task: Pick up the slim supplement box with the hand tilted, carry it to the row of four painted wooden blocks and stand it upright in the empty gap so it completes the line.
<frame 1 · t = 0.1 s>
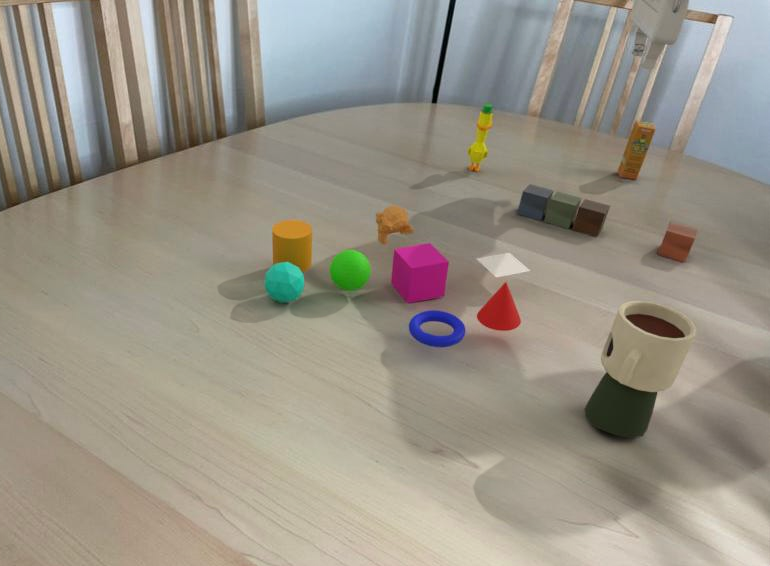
hand: (641, 61, 126), 21 cm above the table, tool pointing down, fingers open, 8 cm apart
block row: (629, 241, 116), on the table
character mug: (612, 424, 78), on the table
toy figure: (474, 169, 137), on the table
supplement box: (626, 177, 141), on the table
shape set: (398, 299, 96), on the table
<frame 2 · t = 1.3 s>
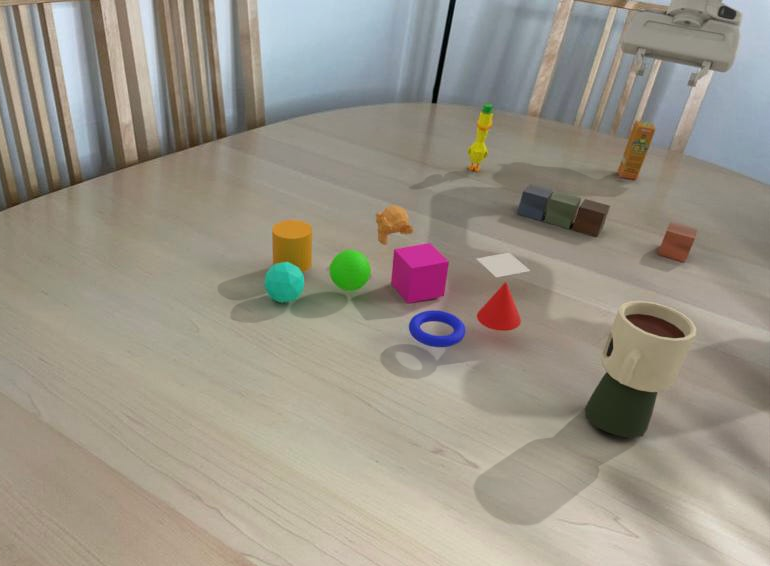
hand: (665, 79, 140), 16 cm above the table, tool tilted 45°, fingers open, 8 cm apart
nothing on the table moved.
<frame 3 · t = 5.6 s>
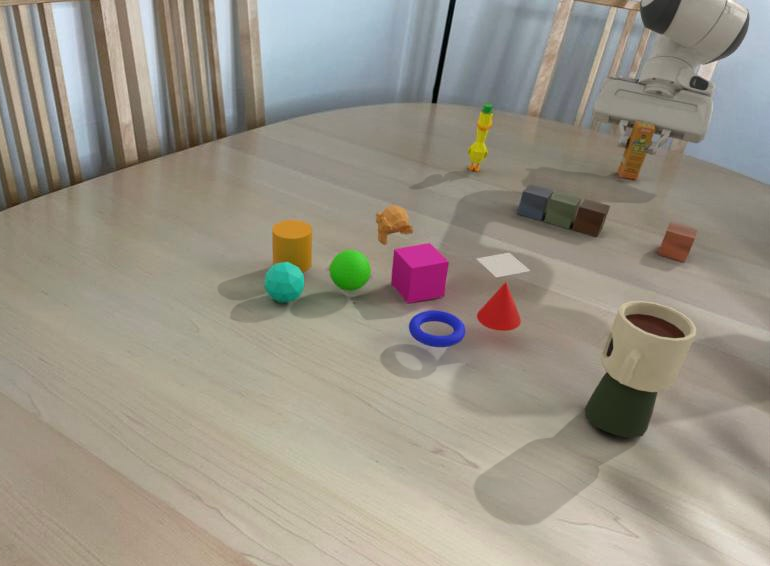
hand: (636, 149, 137), 5 cm above the table, tool tilted 45°, fingers closed on supplement box, 4 cm apart
supplement box: (626, 177, 141), on the table, touching gripper
everything else where it was.
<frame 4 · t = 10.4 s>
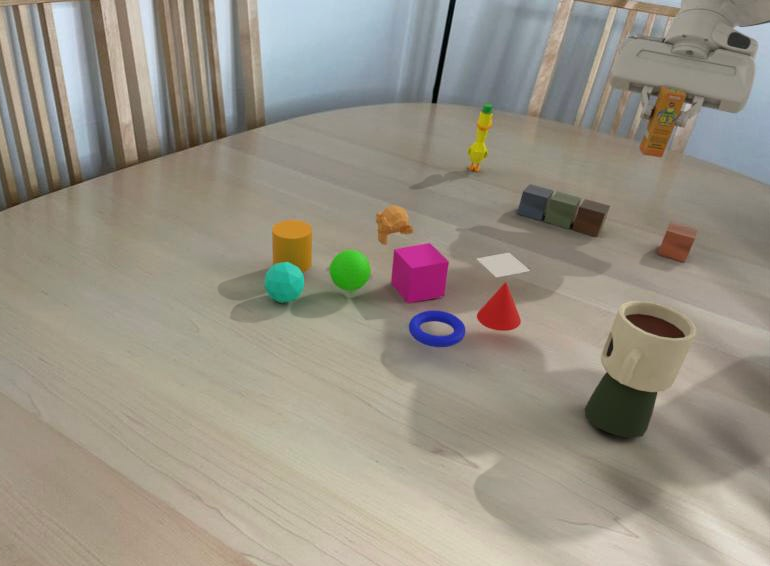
hand: (662, 121, 115), 16 cm above the table, tool tilted 45°, fingers closed on supplement box, 4 cm apart
supplement box: (650, 154, 118), point 11 cm above the table, touching gripper
everything else where it was.
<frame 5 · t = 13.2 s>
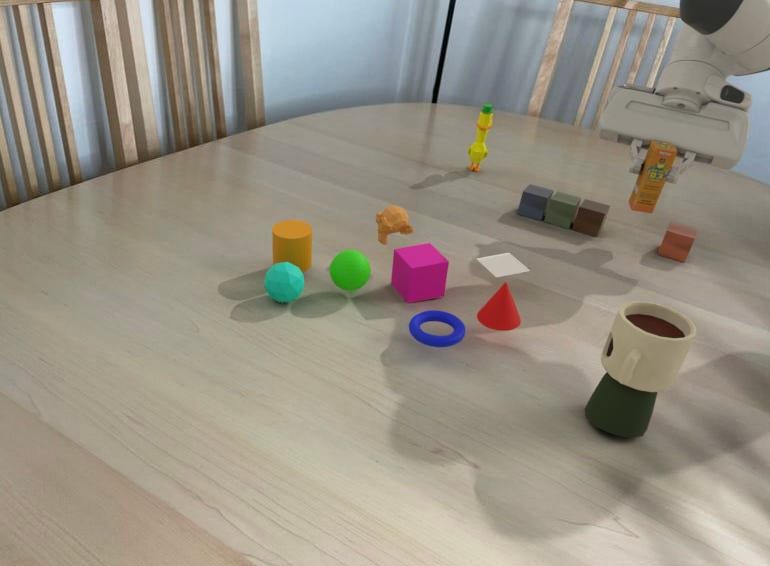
hand: (652, 176, 110), 11 cm above the table, tool tilted 45°, fingers closed on supplement box, 4 cm apart
supplement box: (640, 209, 113), point 5 cm above the table, touching gripper
everything else where it was.
when the fingers open (5 cm above the table, at t = 15.1 s): supplement box stays where it is, on the table.
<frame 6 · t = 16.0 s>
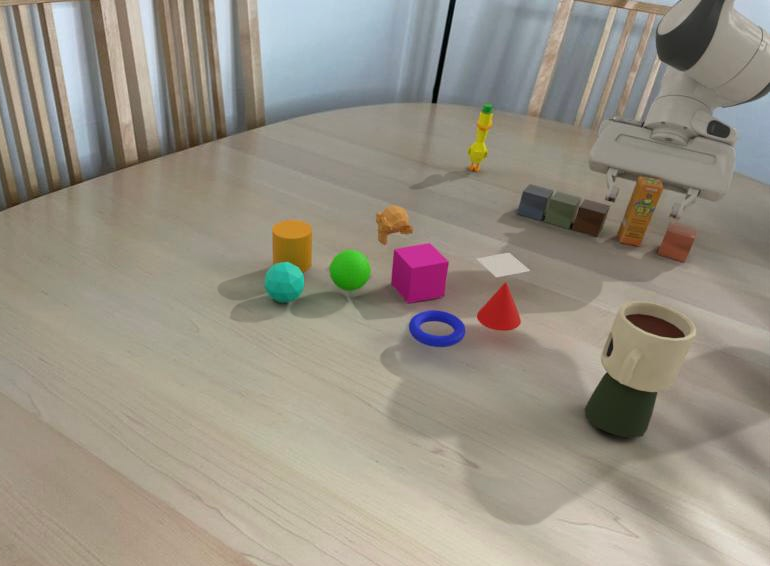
hand: (641, 208, 113), 6 cm above the table, tool tilted 45°, fingers open, 8 cm apart
supplement box: (628, 242, 116), on the table
everything else where it was.
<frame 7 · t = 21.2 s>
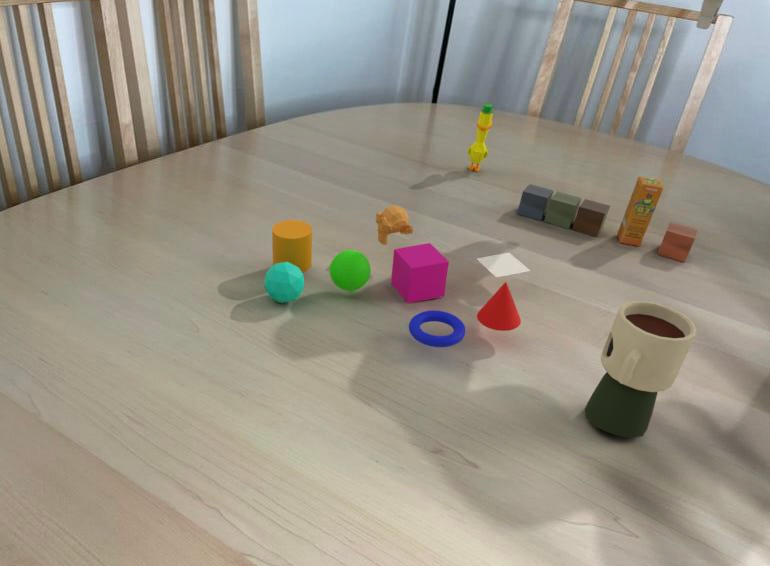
hand: (705, 23, 115), 29 cm above the table, tool pointing down, fingers open, 8 cm apart
nothing on the table moved.
at the end: supplement box 0.1 cm off-centre on the block row, point 0.0 cm above the block row's base; supplement box tilted 0°; the gripper is holding nothing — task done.
